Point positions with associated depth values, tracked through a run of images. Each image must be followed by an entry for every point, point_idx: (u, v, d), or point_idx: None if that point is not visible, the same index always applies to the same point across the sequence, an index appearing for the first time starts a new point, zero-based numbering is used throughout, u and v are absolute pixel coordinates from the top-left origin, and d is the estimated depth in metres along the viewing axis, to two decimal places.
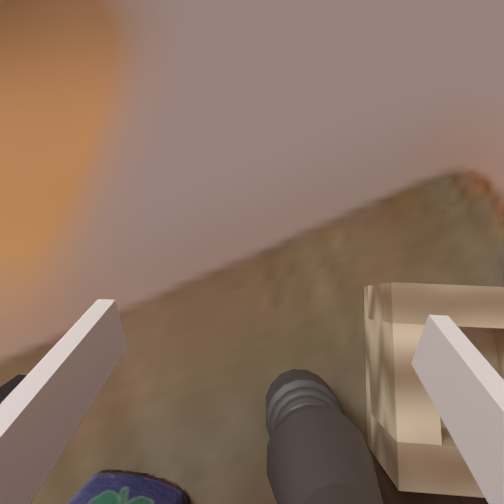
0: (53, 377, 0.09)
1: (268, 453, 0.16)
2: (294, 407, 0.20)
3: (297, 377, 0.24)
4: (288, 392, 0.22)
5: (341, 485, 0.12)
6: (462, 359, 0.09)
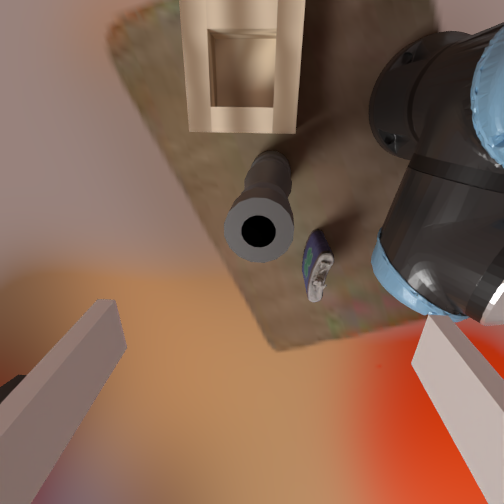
0: (53, 377, 0.09)
1: None
2: None
3: None
4: None
5: None
6: (462, 359, 0.09)
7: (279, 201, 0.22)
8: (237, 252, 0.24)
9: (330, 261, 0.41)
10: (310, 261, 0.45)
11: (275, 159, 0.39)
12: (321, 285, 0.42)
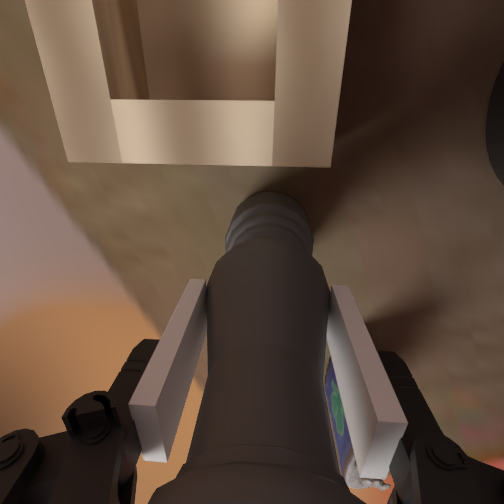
0: (182, 338, 0.10)
1: None
2: None
3: None
4: None
5: None
6: (343, 316, 0.11)
7: None
8: None
9: None
10: None
11: (281, 220, 0.17)
12: (379, 485, 0.19)
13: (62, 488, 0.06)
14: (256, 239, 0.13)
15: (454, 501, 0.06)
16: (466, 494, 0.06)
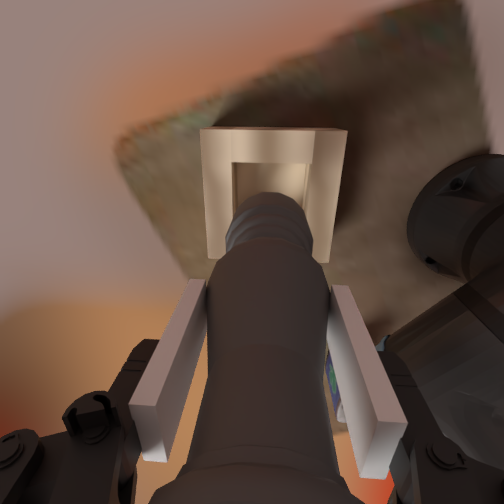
0: (182, 338, 0.10)
1: None
2: None
3: None
4: None
5: None
6: (343, 316, 0.11)
7: None
8: None
9: None
10: None
11: (281, 220, 0.17)
12: None
13: (62, 488, 0.06)
14: (256, 239, 0.13)
15: (454, 501, 0.06)
16: (466, 494, 0.06)
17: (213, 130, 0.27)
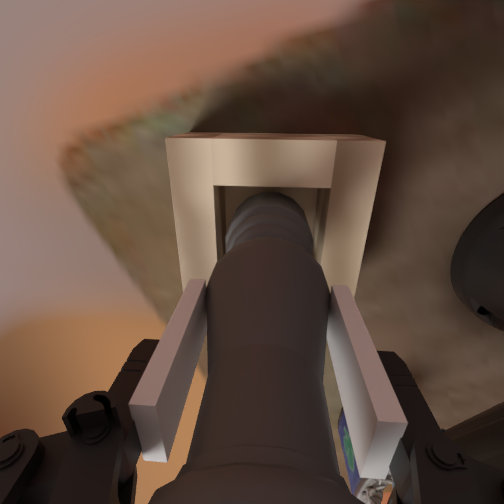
0: (182, 338, 0.10)
1: None
2: None
3: None
4: None
5: None
6: (343, 316, 0.11)
7: None
8: None
9: None
10: None
11: (281, 220, 0.17)
12: None
13: (62, 488, 0.06)
14: (256, 239, 0.13)
15: (454, 501, 0.06)
16: (466, 494, 0.06)
17: (185, 139, 0.18)
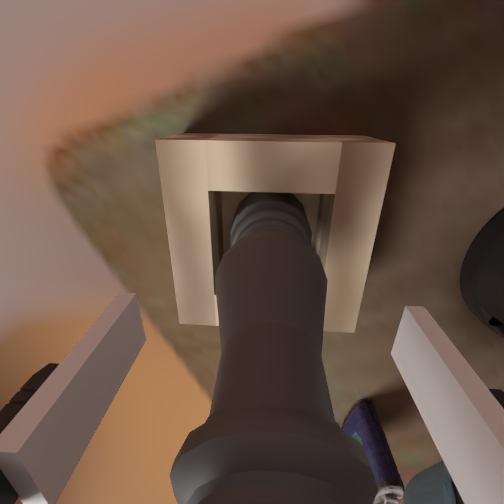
0: (85, 364, 0.09)
1: None
2: None
3: None
4: None
5: None
6: (432, 346, 0.10)
7: None
8: None
9: (398, 494, 0.27)
10: None
11: (282, 214, 0.18)
12: None
13: None
14: (260, 232, 0.15)
15: None
16: None
17: (177, 141, 0.17)
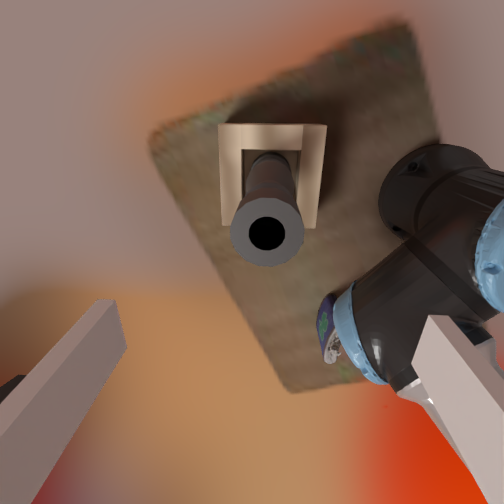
0: (53, 377, 0.09)
1: None
2: None
3: None
4: None
5: None
6: (462, 359, 0.09)
7: (288, 201, 0.21)
8: (244, 256, 0.22)
9: None
10: (326, 327, 0.50)
11: (276, 160, 0.38)
12: (336, 353, 0.47)
13: None
14: (265, 161, 0.34)
15: None
16: None
17: (228, 125, 0.37)
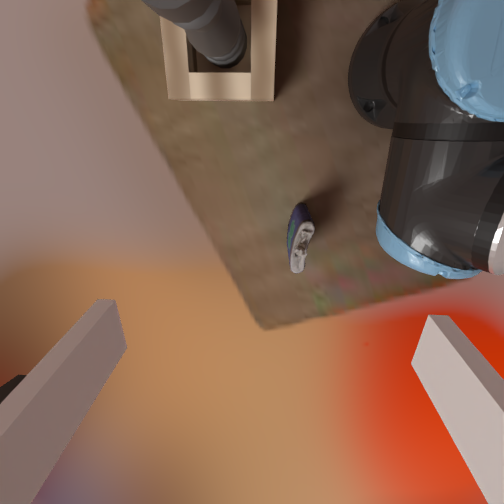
0: (53, 377, 0.09)
1: (207, 54, 0.31)
2: None
3: None
4: None
5: None
6: (462, 359, 0.09)
7: None
8: None
9: (311, 230, 0.42)
10: (292, 232, 0.45)
11: None
12: (302, 254, 0.42)
13: None
14: None
15: None
16: None
17: None
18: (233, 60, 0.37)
